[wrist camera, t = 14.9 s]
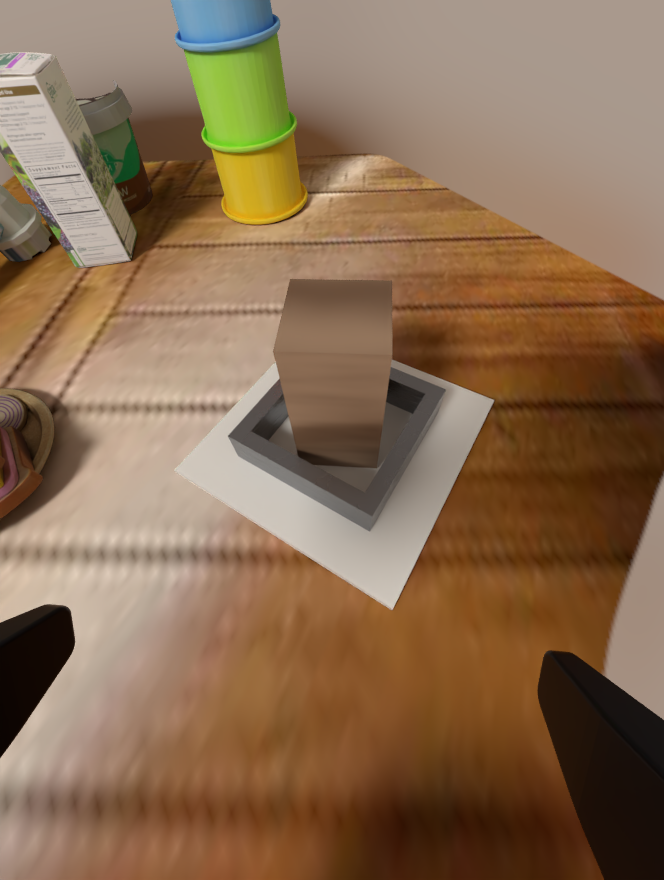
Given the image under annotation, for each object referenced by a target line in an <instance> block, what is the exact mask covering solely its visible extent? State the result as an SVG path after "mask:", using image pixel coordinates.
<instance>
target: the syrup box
mask: <svg viewBox="0 0 664 880" xmlns="http://www.w3.org/2000/svg"><path fill="white" fill-rule="evenodd" d="M0 152H1V153H2V155H3V156H4V158H5V159H6V161H7V163H8V164H9V166H10V167H11V169H12V170H13V172H14V173H15V175H16V176H17V178H18V179H19V181H20V182H21V184H22V186H23V187H24V189H25V190H26V192H27V193H28V195H29V196H30V198H31V199H32V201H33V202H34V204H35V205H36V207H37V208H38V210H39V211H40V213H41V214H42V216H43V217H44V219H45V220H46V222H47V223H48V225H49V226H50V228H51V230H52V231H53V233H54V234H55V236H56V237H57V239H58V240H59V242H60V243H61V245H62V246H63V248H64V249H65V251H66V252H67V254H68V255H69V257H70V259H71V260H72V262H73V263H74V265H75V266H76V267H78V268H83V267H91V266H98V265H106V264H113V263H119V262H126V261H131V259H132V255H133V250H134V246H135V242H136V238H137V230H136V228H135V226H134V223H133V221H132V219H131V217H130V215H129V213H128V211H127V208H126V206H125V204H124V202H123V200H122V198H121V196H120V194H119V191H118V189H117V187H116V185H115V183H114V180H113V178H112V176H111V174H110V172H109V170H108V168H107V165H106V163H105V161H104V159H103V157H102V155H101V152H100V150H99V148H98V146H97V144H96V142H95V140H94V137H93V135H92V133H91V131H90V129H89V127H88V125H87V123H86V120H85V118H84V116H83V114H82V112H81V110H80V108H79V105H78V103H77V101H76V99H75V97H74V95H73V93H72V91H71V88H70V86H69V85H68V82H67V80H66V78H65V76H64V73H63V71H62V69H61V67H60V65H59V63H58V60H57V58H56V56H53V55H52V54H43V53H28V52H27V53H26V52H20V53H6V54H0Z"/></svg>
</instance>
